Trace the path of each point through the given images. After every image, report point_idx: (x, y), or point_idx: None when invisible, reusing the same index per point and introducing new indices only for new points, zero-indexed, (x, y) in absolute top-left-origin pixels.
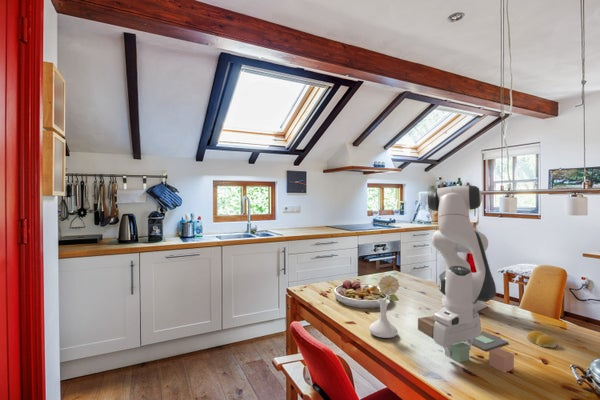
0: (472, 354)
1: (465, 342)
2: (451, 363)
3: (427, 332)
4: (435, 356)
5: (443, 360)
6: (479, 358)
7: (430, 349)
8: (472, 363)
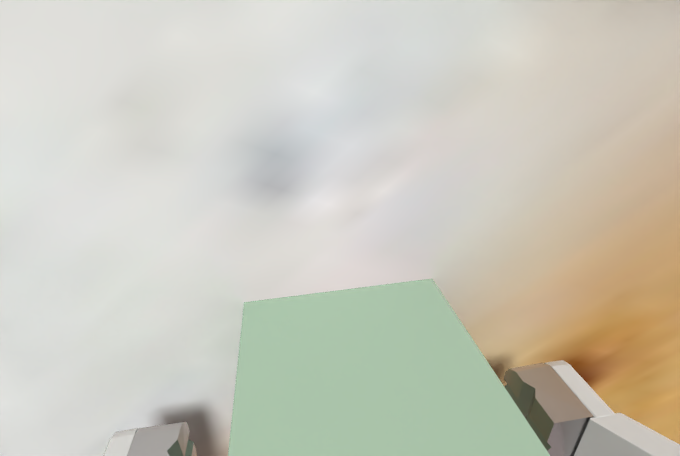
0: (546, 344)
1: (617, 437)
2: None
3: None
4: (48, 279)
5: (109, 372)
6: None
7: (98, 67)
8: None
